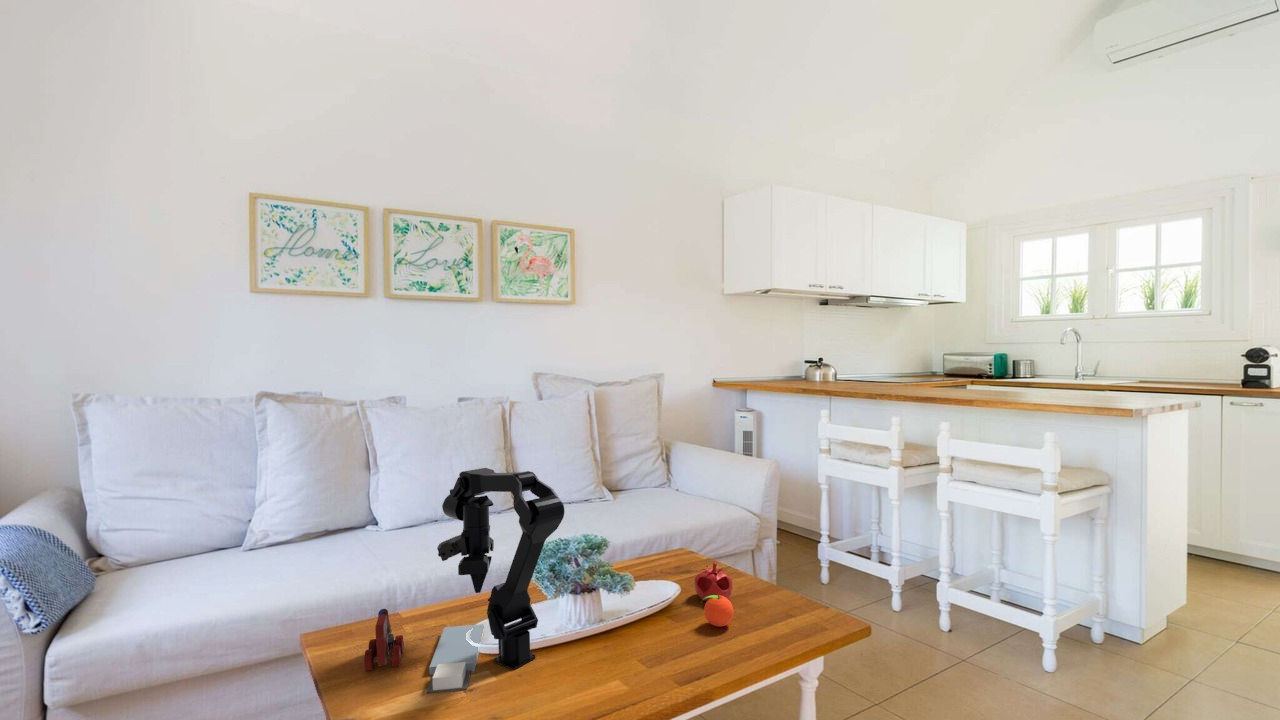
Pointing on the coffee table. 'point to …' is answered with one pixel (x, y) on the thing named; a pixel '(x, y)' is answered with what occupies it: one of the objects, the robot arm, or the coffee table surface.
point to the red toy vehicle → (383, 644)
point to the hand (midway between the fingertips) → (477, 592)
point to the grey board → (457, 647)
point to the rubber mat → (464, 687)
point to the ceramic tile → (449, 676)
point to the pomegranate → (713, 583)
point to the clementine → (718, 610)
